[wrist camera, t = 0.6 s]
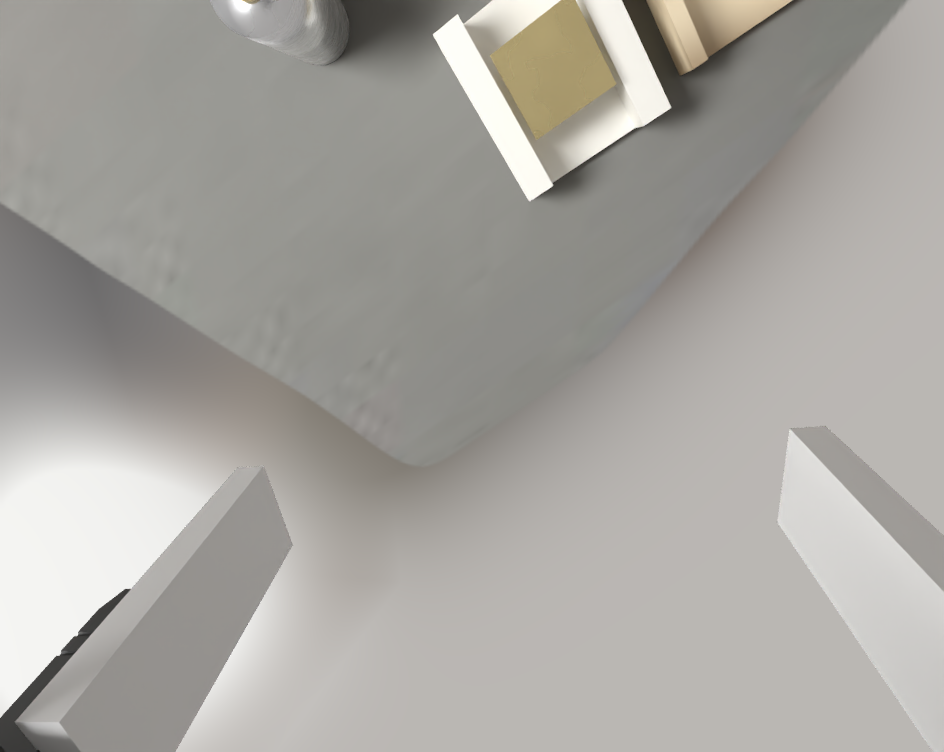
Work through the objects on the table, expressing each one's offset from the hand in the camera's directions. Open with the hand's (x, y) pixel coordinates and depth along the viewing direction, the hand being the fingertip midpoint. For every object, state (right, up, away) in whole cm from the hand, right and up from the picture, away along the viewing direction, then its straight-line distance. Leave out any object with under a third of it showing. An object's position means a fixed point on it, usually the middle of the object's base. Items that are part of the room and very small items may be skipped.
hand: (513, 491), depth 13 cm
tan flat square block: (+3, +19, +15) cm, 25 cm away
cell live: (-10, +24, +17) cm, 31 cm away
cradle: (+4, +20, +17) cm, 27 cm away
